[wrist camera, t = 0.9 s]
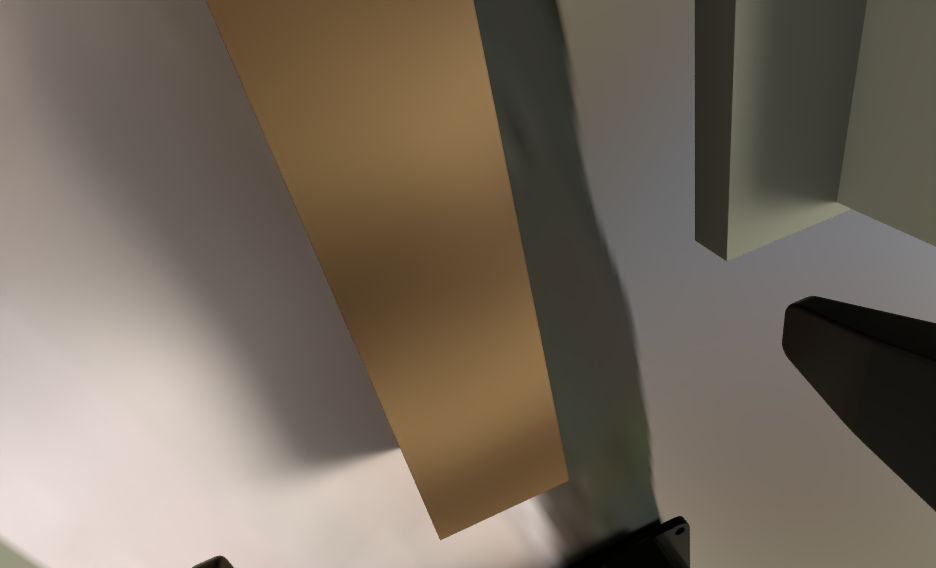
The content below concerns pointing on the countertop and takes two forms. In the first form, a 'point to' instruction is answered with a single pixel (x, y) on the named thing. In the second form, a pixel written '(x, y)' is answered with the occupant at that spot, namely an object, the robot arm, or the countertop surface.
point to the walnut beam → (411, 231)
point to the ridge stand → (812, 117)
